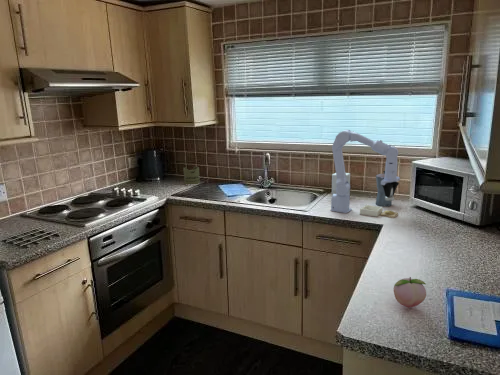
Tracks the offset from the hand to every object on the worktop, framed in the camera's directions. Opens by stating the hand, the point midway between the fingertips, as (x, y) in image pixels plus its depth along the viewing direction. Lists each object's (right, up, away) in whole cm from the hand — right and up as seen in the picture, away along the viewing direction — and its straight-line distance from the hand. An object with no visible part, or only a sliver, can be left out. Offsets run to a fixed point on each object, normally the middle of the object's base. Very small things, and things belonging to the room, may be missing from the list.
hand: (389, 196), depth 201 cm
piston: (-116, +7, +87) cm, 145 cm away
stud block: (+1, -10, +2) cm, 10 cm away
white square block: (-16, -2, +39) cm, 42 cm away
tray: (-8, -9, +6) cm, 14 cm away
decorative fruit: (-25, -32, -83) cm, 92 cm away
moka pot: (+4, -5, +22) cm, 23 cm away
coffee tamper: (0, -2, 0) cm, 2 cm away
